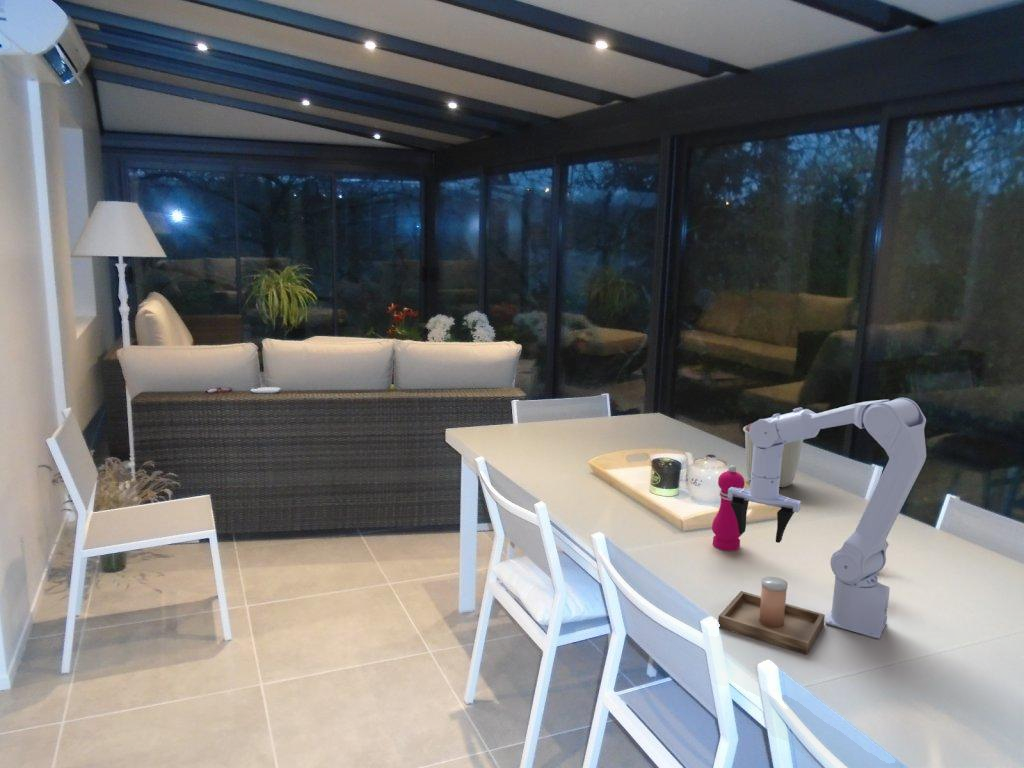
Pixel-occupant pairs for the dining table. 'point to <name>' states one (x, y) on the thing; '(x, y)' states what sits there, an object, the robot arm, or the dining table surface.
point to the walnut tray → (792, 635)
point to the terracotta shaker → (773, 601)
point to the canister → (788, 458)
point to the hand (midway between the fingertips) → (760, 536)
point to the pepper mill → (727, 513)
